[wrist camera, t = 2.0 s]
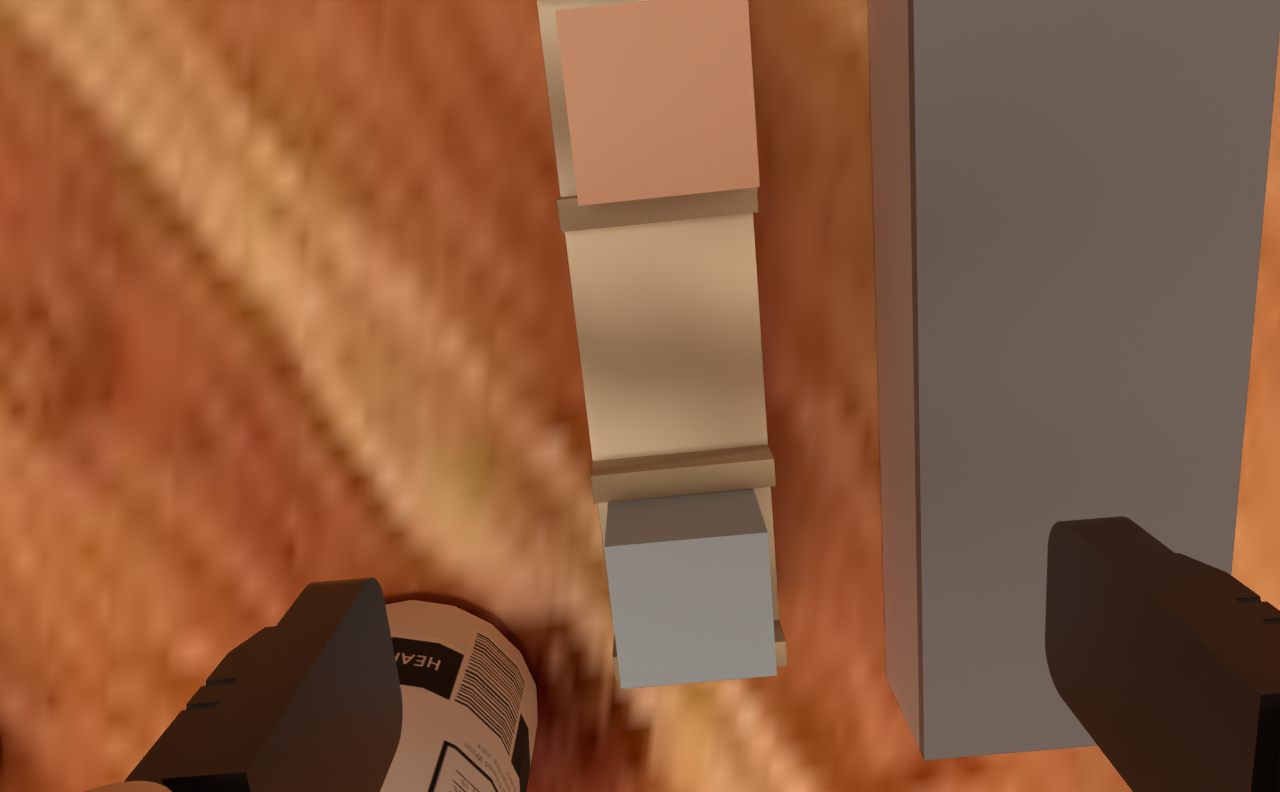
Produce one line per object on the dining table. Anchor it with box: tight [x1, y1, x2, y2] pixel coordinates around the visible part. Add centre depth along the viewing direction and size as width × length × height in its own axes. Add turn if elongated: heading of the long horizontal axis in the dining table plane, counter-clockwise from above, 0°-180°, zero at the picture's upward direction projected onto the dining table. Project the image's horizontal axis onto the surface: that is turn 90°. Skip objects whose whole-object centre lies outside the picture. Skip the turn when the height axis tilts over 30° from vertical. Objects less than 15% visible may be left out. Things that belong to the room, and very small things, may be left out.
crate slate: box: [605, 489, 777, 689], centre depth 25 cm, size 4×4×4 cm
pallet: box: [537, 0, 787, 681], centre depth 26 cm, size 20×5×6 cm, turn 6°
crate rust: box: [555, 0, 760, 206], centre depth 21 cm, size 4×4×4 cm
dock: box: [868, 0, 1280, 760], centre depth 27 cm, size 24×9×4 cm, turn 6°
